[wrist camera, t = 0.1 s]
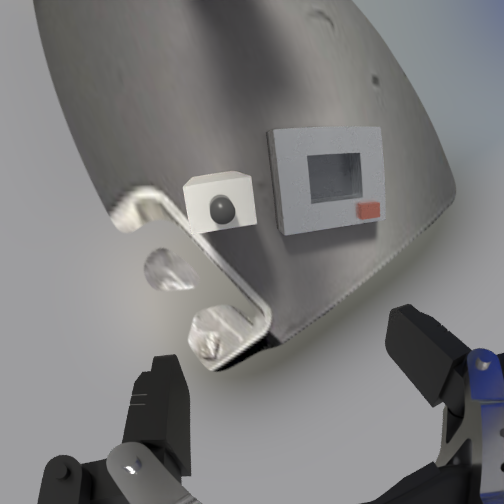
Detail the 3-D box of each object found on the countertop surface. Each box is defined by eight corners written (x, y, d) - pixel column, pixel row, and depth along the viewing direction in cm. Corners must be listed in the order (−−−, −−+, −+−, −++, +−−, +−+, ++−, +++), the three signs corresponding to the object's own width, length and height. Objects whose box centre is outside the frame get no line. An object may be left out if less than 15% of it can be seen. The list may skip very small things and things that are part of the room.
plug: (191, 177, 35) (179, 190, 19) (234, 170, 35) (257, 178, 19) (196, 207, 36) (189, 245, 20) (238, 200, 37) (264, 232, 21)
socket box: (266, 132, 34) (274, 128, 30) (365, 128, 36) (383, 126, 32) (277, 228, 39) (286, 237, 34) (370, 214, 40) (388, 221, 36)
